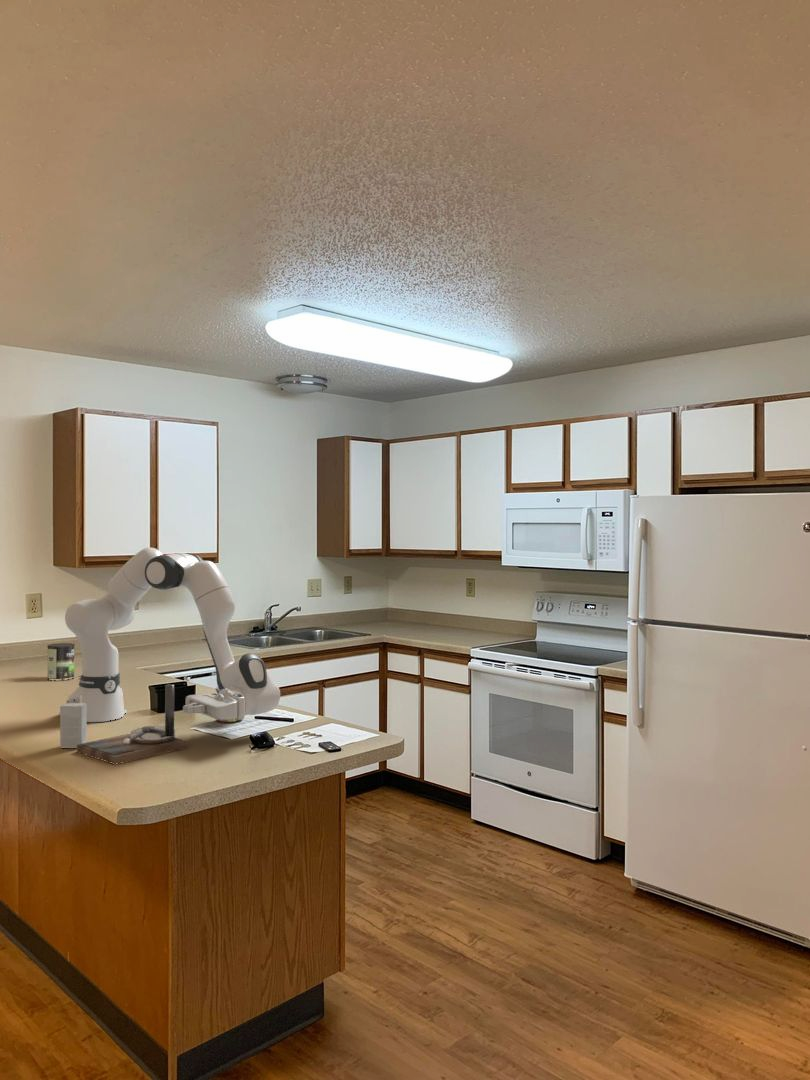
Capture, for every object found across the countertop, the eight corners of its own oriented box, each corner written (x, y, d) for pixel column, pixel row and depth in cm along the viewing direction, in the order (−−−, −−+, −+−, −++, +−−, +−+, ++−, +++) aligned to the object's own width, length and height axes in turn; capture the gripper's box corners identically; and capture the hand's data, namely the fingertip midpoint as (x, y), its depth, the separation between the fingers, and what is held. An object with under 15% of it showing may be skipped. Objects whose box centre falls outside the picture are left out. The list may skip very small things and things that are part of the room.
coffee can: (78, 676, 335) (78, 643, 335) (67, 681, 325) (68, 646, 325) (54, 676, 335) (54, 642, 335) (42, 681, 325) (42, 646, 325)
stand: (76, 751, 221) (76, 743, 221) (147, 736, 238) (147, 728, 238) (115, 764, 209) (115, 755, 209) (185, 747, 226) (186, 739, 226)
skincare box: (87, 745, 228) (87, 702, 228) (81, 749, 224) (81, 706, 224) (65, 745, 228) (65, 702, 228) (59, 749, 224) (59, 706, 224)
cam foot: (109, 750, 214) (109, 690, 214) (142, 732, 234) (142, 677, 234) (158, 752, 213) (158, 692, 212) (187, 734, 232) (187, 678, 232)
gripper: (212, 687, 243) (169, 692, 233) (247, 698, 227) (202, 704, 218) (212, 707, 243) (168, 714, 233) (246, 720, 227) (201, 727, 218)
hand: (185, 709), depth 226 cm, fingers closed
